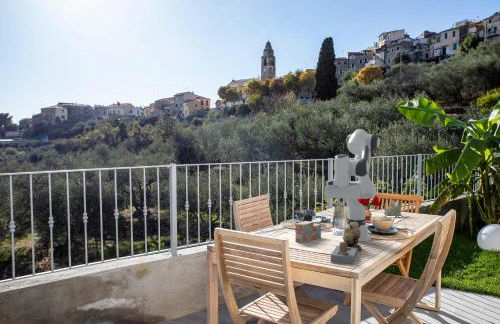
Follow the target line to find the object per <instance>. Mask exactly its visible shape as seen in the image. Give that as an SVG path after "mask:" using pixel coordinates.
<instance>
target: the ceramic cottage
mask: <svg viewBox="0 0 500 324" xmlns="http://www.w3.org/2000/svg"><path fill="white" fill-rule="evenodd" d="M389 205H390V206H388V207H387V208H384V212H383V213H384V215H385V216H395V217H397V216H402V212H401V207H402V206H401V205H400V200H399V199H398V200H397V201H394V203H392V204H391V203H390V204H389Z"/></svg>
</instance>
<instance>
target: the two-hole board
mask: <svg viewBox="0 0 500 324" xmlns="http://www.w3.org/2000/svg"><path fill="white" fill-rule="evenodd" d="M339 252H340V245H336V246H335V248H334V249H333V251H332V252H331V254H330V263H337V264H345V265H354V263H355V262H356V259H357V257H358V253H359V252H358V248H354V247H347V255H340V254H339Z"/></svg>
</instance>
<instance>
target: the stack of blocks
mask: <svg viewBox="0 0 500 324" xmlns="http://www.w3.org/2000/svg"><path fill="white" fill-rule="evenodd" d="M321 227H322V224H320V223H315V222H314V221H310V220H309V221H308V220H304V221H301V222H297V223H295V229H294V230H295V243H300V244H306V243H309V242H311V241H314V240H318V239H321V238H322V228H321Z"/></svg>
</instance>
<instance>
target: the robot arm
mask: <svg viewBox="0 0 500 324" xmlns="http://www.w3.org/2000/svg"><path fill="white" fill-rule="evenodd" d="M345 143H346V146H347V149H348V151H349V153H351V154H352V155H354V158H353V159H351V158H349V154H346V153H340V154H337V155H335V156H334V161H333V162H334V163H333V170H334V176H333V179H331V180H328V181H327V180H326V183H325V185H326V186H324V192H323V196H324V197H325V198H327V199H336V200H337V202H338V206H339V207H345V205H346V207H347V224H346V225H345V227H344V229H345V228H350V226H349V224H350V223H351V222H355V223H356V224H357V225H358V227H359V229H360V233H361V234H360V238H359V239H358V243H359V242H370V241H372V238H371V236H370V234H369V228H368V226H367V220H366V207H365V206H364V204H363V203H360V202H359V199H365V200H366V199H367V200H368V199H373V198H374V197H375V196H376V194H377V187H376V185H375V184H374V183H373V182H372V180H371V178H370V167H371V160H372V154H373V153H375V151H377V150H378V148H380V147H379V146H380V145H381V144H380V143H381V140H380V136H379V135H377V134H374V133H373V134H372V133H371V134H370V133H368V132H367V131H366V130H364V129H362V128H358V129H356V130H354V131H353V133H349V134H348V135H347V136H346V139H345ZM350 176H351V177H352V176H353V177H356V178H357V179H358V180H357V181H353V180H352V181H351V180H350V179H351V178H350ZM341 199H343V202H341ZM342 239H343V236H342Z"/></svg>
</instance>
